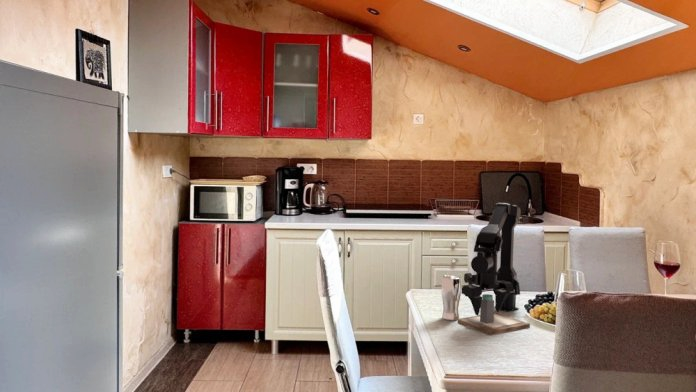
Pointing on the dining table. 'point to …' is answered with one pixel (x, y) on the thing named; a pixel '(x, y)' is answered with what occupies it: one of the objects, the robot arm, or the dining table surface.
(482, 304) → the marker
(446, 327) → the dining table surface
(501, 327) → the wooden tray
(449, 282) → the metal tumbler
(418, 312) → the dining table surface
